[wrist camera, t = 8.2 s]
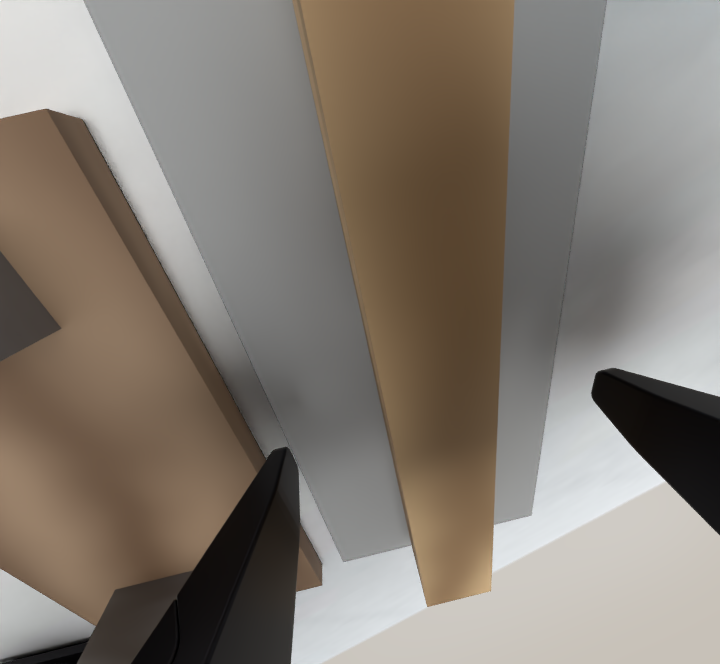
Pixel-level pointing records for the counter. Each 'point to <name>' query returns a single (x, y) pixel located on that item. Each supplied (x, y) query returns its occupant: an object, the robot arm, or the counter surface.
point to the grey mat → (325, 235)
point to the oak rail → (425, 245)
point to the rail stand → (104, 400)
